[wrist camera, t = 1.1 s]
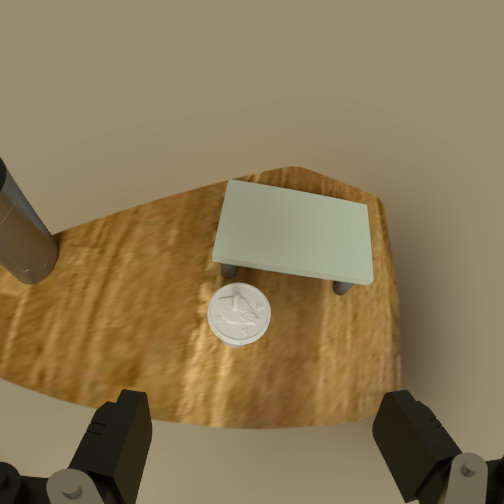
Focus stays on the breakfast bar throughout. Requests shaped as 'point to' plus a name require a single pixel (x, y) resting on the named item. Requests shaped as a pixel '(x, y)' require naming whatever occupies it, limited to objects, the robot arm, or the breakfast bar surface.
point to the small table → (293, 234)
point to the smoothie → (238, 314)
